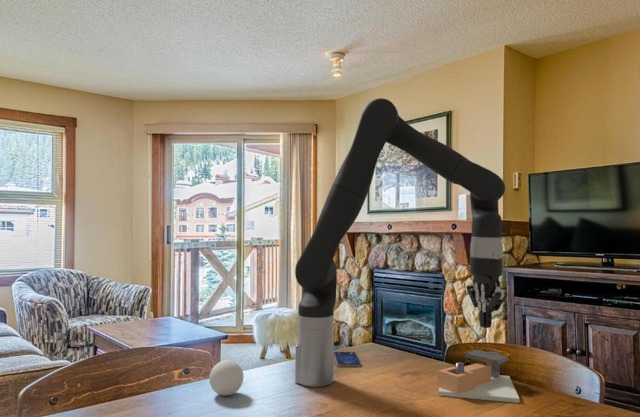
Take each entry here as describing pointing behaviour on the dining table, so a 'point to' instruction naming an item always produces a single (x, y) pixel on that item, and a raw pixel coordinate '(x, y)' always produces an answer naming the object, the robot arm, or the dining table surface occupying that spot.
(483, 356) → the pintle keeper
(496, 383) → the board
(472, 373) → the link
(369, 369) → the dining table surface
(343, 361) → the smartphone
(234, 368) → the ball
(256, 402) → the dining table surface
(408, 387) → the dining table surface
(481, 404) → the dining table surface
